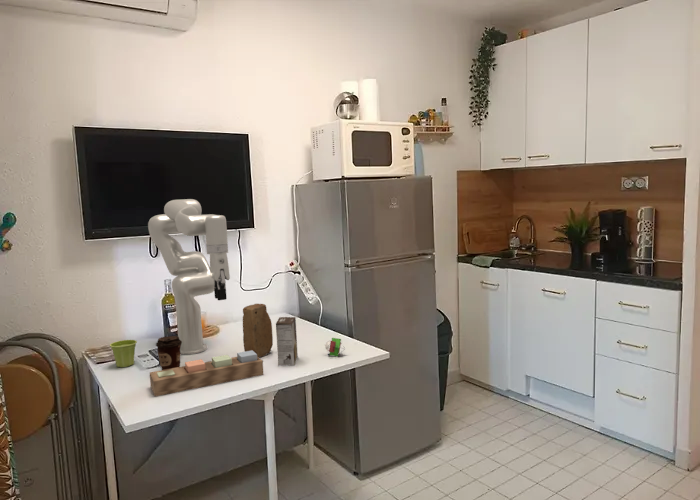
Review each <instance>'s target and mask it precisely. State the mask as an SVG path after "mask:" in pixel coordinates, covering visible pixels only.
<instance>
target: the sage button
mask: <svg viewBox="0 0 700 500" xmlns="http://www.w3.org/2000/svg"><path fill="white" fill-rule="evenodd" d="M231 358H232V357H231V356H229V355H228V354H224V355H223V354H222V355H218V356H212V357H211V361H212V365H213V367H214V368H218V367H224V366H229V365H232V359H231Z"/></svg>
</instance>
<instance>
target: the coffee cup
mask: <svg viewBox="0 0 700 500" xmlns="http://www.w3.org/2000/svg"><path fill="white" fill-rule="evenodd" d="M181 344H182V341H181V340H180V339H179V337H178V335H170V336H169V335H168V336H162V337H159V338H158V339H157V342H156V343H155V346H156V347H157V355H158V359H159V365H160V368H161V370H166V369H171V368H177V367H181V355H182V354H181V352H180V348H181Z"/></svg>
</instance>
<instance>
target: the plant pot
mask: <svg viewBox="0 0 700 500" xmlns="http://www.w3.org/2000/svg"><path fill="white" fill-rule="evenodd" d="M136 346H137V340H135V339H124V340H123V339H122V340H117V341H114V342H112V343H110V344H109V347H110V348H111V350H112V353H113V356H114V361H115V365H116V367H117V368H119V367H120V368H127V367H130V366H133V365H134V364H135V353H136V352H135V351H136Z"/></svg>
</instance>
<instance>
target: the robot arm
mask: <svg viewBox="0 0 700 500" xmlns="http://www.w3.org/2000/svg"><path fill="white" fill-rule="evenodd" d="M163 207H164V208H163V214H157V215H154V216H152V217H151V218H150V219H149V221H148V222H147V228H148V234H149V235H150V238H151V241H153V243H154V245H155V246H156V247H157V248H158V250H159V252H160V254H161V257H162V258H163V261H164V264H165V265H166V269H167V270H168V273H170V274H171V276H173V277H174V278H173V279H172V281H171V290H172V294H173V297H174V303H175V313H176V314H175V315H176V324H177V325H176V326H177V336H178V337H179V339H180V340H181V341H182V344H181V348H180V352H181V354H180V355H194V354H198V353H203V352H204V351H207V349H208V345H207V343H206V344H205V343H204V340H203V339H204V338H203V326H202V310H201V309H202V308H201V306H200V304H199V303H198V301H197V300H196V299H195V297H198V296H204V295H205V296H206V295H210V294H212V293H214V298H215V299H217V301H223V300H224V301H226V300H227V287H226V286H227V285H226V281H229V280H230V279H231V276H230V267H229V260H228V259H229V258H228V253H229V246H228V245H229V243H228V228H227V219H226V216H225V215H222V214H221V215H220V214H213V213H212V214H210V213H209V214H203V213H202V209H203V208H202V206H201V203H200V202H199V201H198V200H197V199H193V198H187V199H185V198H184V199H172V200H170V201H168V202H166V203H165V205H164V206H163ZM174 234H183V235H185V236H189V237H195V236H197V237H198V236H205V241H206V255H209V262H208V260H207V258H206V256H205V254H204V253H202V252H201V251H194V250H193V251H184V250H183V248H182V246H181V243H180V242H179V240H177V239H176V238H174V237H173V236H171V235H174Z"/></svg>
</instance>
